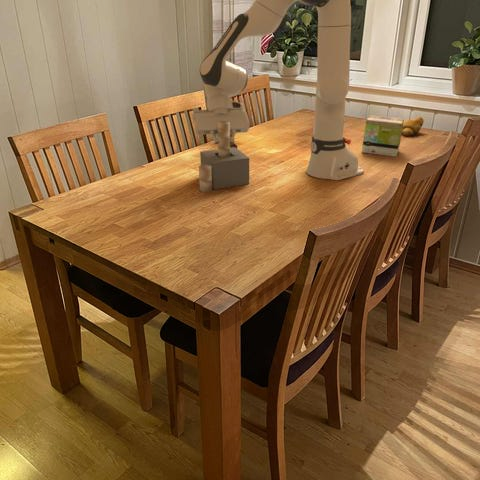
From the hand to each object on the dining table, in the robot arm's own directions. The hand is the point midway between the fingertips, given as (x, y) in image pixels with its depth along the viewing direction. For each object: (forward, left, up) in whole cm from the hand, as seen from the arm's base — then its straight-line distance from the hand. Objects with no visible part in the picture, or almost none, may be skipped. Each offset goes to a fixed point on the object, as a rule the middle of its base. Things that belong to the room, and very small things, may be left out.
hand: (224, 142), depth 170 cm
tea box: (-76, -6, -15) cm, 78 cm away
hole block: (0, -1, -15) cm, 15 cm away
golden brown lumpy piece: (-107, -24, -15) cm, 111 cm away
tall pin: (0, -1, -11) cm, 11 cm away
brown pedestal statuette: (-15, -33, -15) cm, 39 cm away
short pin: (+10, +6, -15) cm, 19 cm away
